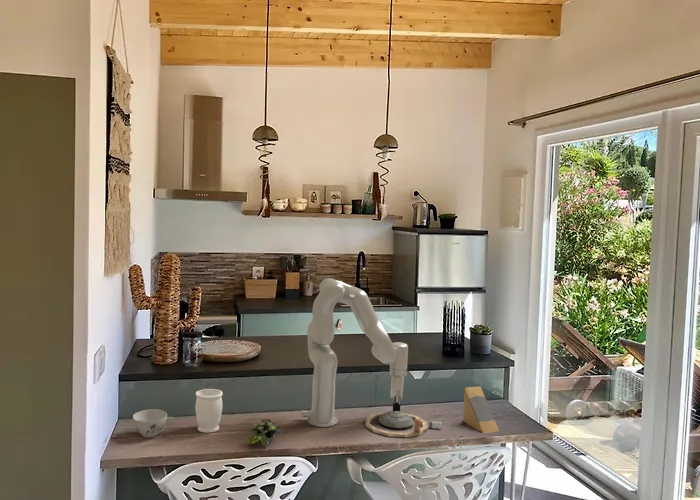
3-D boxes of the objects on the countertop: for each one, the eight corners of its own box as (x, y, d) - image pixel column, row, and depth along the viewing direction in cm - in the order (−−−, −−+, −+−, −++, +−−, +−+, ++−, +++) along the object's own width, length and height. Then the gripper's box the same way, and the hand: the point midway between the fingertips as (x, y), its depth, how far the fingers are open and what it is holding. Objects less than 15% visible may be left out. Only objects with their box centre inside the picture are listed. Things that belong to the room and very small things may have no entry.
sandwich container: (483, 434, 248) (485, 398, 247) (462, 421, 262) (464, 387, 261) (500, 431, 251) (502, 396, 250) (478, 419, 265) (480, 385, 264)
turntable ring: (364, 434, 241) (365, 420, 241) (367, 412, 267) (367, 399, 266) (428, 438, 240) (429, 424, 239) (425, 416, 265) (425, 402, 264)
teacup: (130, 441, 225) (130, 421, 225) (134, 429, 237) (135, 409, 237) (172, 440, 229) (172, 419, 228) (174, 427, 241) (174, 408, 240)
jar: (227, 427, 243) (228, 391, 242) (211, 436, 234) (211, 398, 233) (206, 422, 248) (206, 386, 246) (189, 430, 238) (190, 393, 237)
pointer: (429, 428, 251) (429, 422, 251) (429, 426, 253) (429, 421, 253) (441, 429, 251) (441, 423, 251) (441, 427, 253) (441, 421, 252)
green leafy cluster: (265, 454, 232) (282, 426, 235) (269, 460, 222) (288, 431, 225) (240, 438, 230) (258, 411, 233) (244, 444, 220) (263, 415, 223)
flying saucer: (418, 422, 259) (419, 409, 259) (406, 433, 245) (407, 420, 245) (386, 415, 265) (386, 403, 265) (372, 426, 252) (373, 413, 251)
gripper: (389, 366, 269) (387, 406, 271) (389, 375, 255) (387, 417, 256) (406, 367, 269) (404, 407, 271) (407, 376, 254) (405, 419, 256)
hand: (396, 412), depth 263 cm, fingers closed
